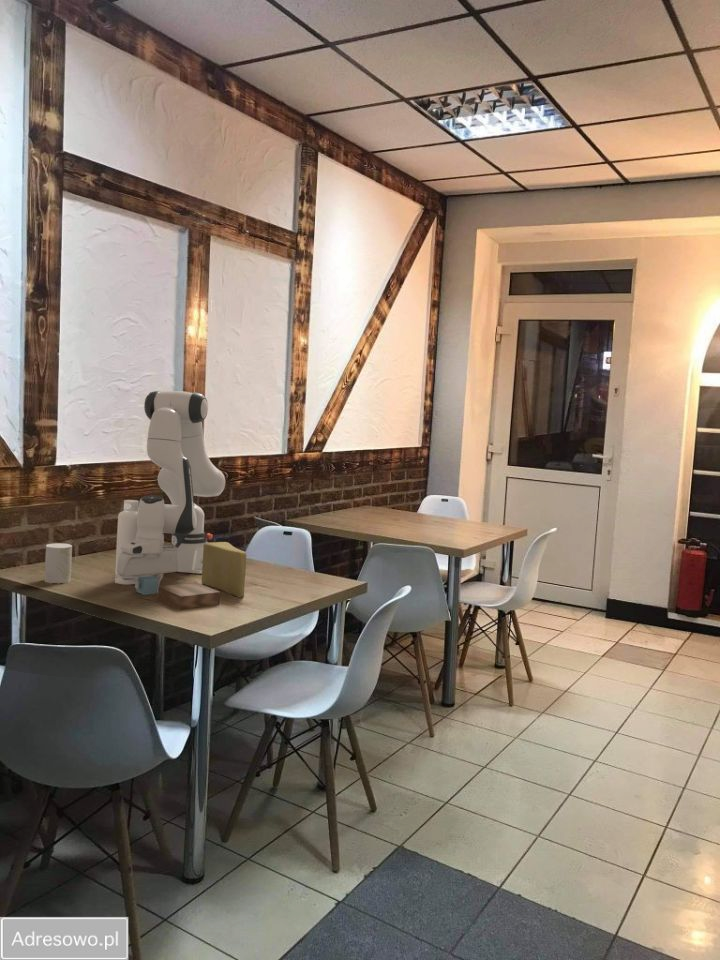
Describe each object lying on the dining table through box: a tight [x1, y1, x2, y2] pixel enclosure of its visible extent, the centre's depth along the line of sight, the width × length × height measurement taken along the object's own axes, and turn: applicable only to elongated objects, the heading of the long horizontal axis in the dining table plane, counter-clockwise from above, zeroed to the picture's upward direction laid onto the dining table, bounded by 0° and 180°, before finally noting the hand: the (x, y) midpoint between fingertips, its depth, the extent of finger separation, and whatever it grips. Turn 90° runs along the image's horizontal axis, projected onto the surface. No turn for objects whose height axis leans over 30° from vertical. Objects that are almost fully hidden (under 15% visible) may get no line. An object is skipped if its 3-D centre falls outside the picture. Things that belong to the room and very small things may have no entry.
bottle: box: [114, 499, 140, 585], centre depth 271 cm, size 8×8×28 cm
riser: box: [157, 582, 221, 610], centre depth 252 cm, size 14×14×4 cm
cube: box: [135, 574, 158, 596], centre depth 259 cm, size 5×5×5 cm
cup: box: [44, 542, 73, 585], centre depth 265 cm, size 8×8×12 cm
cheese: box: [201, 541, 247, 598], centre depth 271 cm, size 22×10×15 cm, turn 36°
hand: (147, 587), depth 259 cm, fingers closed on cube, 5 cm apart
